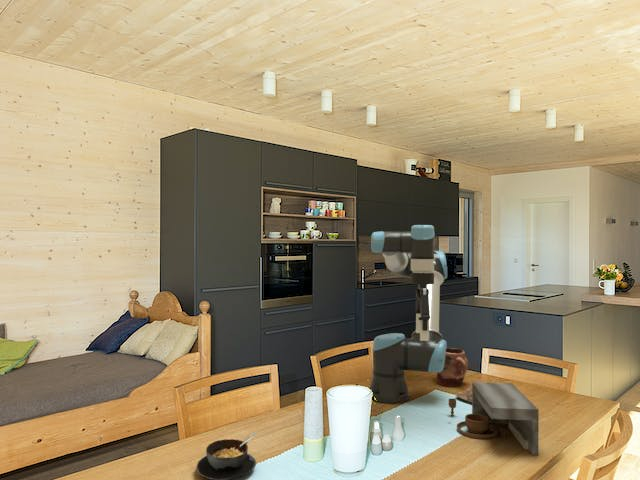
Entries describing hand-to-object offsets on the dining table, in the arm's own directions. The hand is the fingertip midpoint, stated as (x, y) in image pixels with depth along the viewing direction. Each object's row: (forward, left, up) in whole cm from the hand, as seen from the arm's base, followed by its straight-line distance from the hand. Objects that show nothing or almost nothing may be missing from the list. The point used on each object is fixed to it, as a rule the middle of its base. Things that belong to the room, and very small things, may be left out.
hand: (422, 336), depth 166 cm
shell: (+18, +16, -27) cm, 36 cm away
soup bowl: (-53, -42, -27) cm, 73 cm away
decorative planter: (+16, +41, -27) cm, 52 cm away
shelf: (+22, -14, -27) cm, 37 cm away
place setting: (+16, -6, -28) cm, 32 cm away
